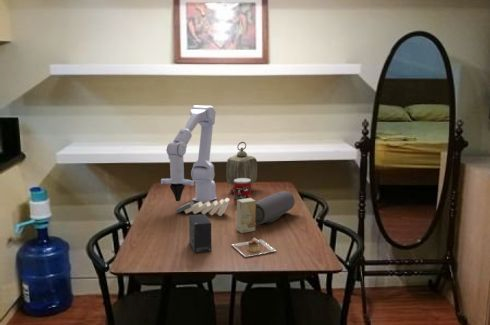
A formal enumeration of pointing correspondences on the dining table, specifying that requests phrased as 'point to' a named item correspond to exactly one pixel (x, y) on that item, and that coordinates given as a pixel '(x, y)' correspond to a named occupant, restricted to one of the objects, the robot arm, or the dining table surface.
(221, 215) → the domino
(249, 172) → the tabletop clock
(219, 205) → the domino
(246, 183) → the canned food
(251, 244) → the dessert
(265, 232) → the dining table surface
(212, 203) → the domino
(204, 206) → the domino
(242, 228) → the skincare box
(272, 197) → the bluetooth speaker
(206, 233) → the small box
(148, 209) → the dining table surface
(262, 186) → the dining table surface
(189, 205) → the domino
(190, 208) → the domino
